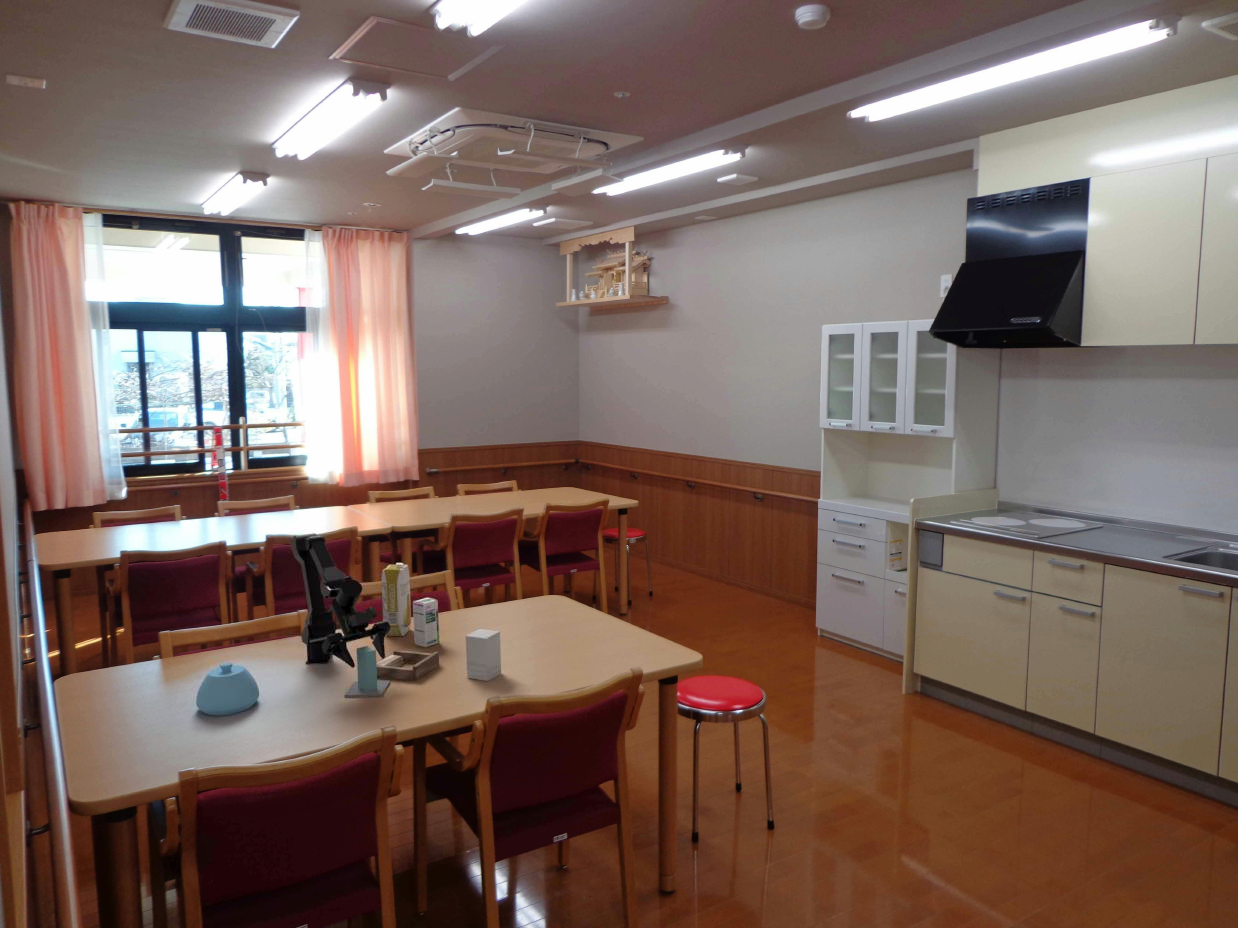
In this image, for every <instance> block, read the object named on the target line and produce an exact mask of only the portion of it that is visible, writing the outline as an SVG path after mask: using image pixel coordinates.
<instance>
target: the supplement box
mask: <svg viewBox="0 0 1238 928" xmlns="http://www.w3.org/2000/svg"><path fill="white" fill-rule="evenodd" d="M465 654H466V656H465V657H466V675H467V676H466V677H467V679H471V680H472V679H473V680H479V681H485V682H489V681H491V680H493V679H494V678H496V677H498V676H499V675H501V674H502V657H501V655H502V654H501V632H500V631H498V630H497V631H496V630H490V629H483V628H479V629H476V630H474V631H473V632H471V633H469V634H467V635H465Z"/></svg>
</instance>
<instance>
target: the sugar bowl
mask: <svg viewBox="0 0 1238 928" xmlns="http://www.w3.org/2000/svg"><path fill="white" fill-rule="evenodd" d="M259 697H260V689H259V686H258V682H257V681H256V679H255V677H254V676H253V675H252V674H251V672H250V671H249V670H248V669H247V668H246V667H245V666H243V665H236V664H235V665H234V664H233V663H232V662H223V663H220V665H219V667H216V668H213V669H211V670H210V671H209V672H208V673H206V675H205V677H204V678H203V680H202V682H201V684H200V686H199V687H198V691H197V694H196V700H195V703H196V705H195V706H196V707H197V708H198V709H199V710H200V711H201V712H202V713H204V714H205V715H208V716H215V717H217V716H219V717H220V716H222V717H223V716H229V715H234V714H238V713H241V712H243V711H247V710H248V709H250V708H251V707H253V706H254V705H255V703H256V702H257V700H258V699H259Z"/></svg>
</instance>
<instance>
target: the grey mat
mask: <svg viewBox="0 0 1238 928" xmlns="http://www.w3.org/2000/svg"><path fill="white" fill-rule="evenodd" d="M390 684H391V680H377V689H374V690H371V691H368V692H367V691H365V690H363V689H361V688H359V687H358V680H357V681H353V683H352V684H351V685H350V687H349V688H348V689H347V691H346V692H345V693H344V695H343V698H367V697H368V698H369V697H374V698H375V697H378V698H379V697H380V698H381V697H383V695H384V694H385V692H386V691H387V689H388V687H389V686H388V685H390ZM386 688H387V689H386Z"/></svg>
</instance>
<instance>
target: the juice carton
mask: <svg viewBox="0 0 1238 928" xmlns="http://www.w3.org/2000/svg"><path fill="white" fill-rule="evenodd" d="M381 572H382V573H381V592H382V593H381V597H382V598H381V599H382V602H381V603H382V621H387V622H389V624H390V626H391V629H390V630H389V632H388V633H387V635H386V636H385V637H403V636H405V635H406V634H407V633H408V631H410V630H411V624H412V615H411V614H412V613H411V612H412V610H411V583H410V582H411V579H410V578H411V577H410V570H409V565H408V564H404V563H403V562H396V563H395V564H389V565H387V566H386V568H384V569H382V571H381Z"/></svg>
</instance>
